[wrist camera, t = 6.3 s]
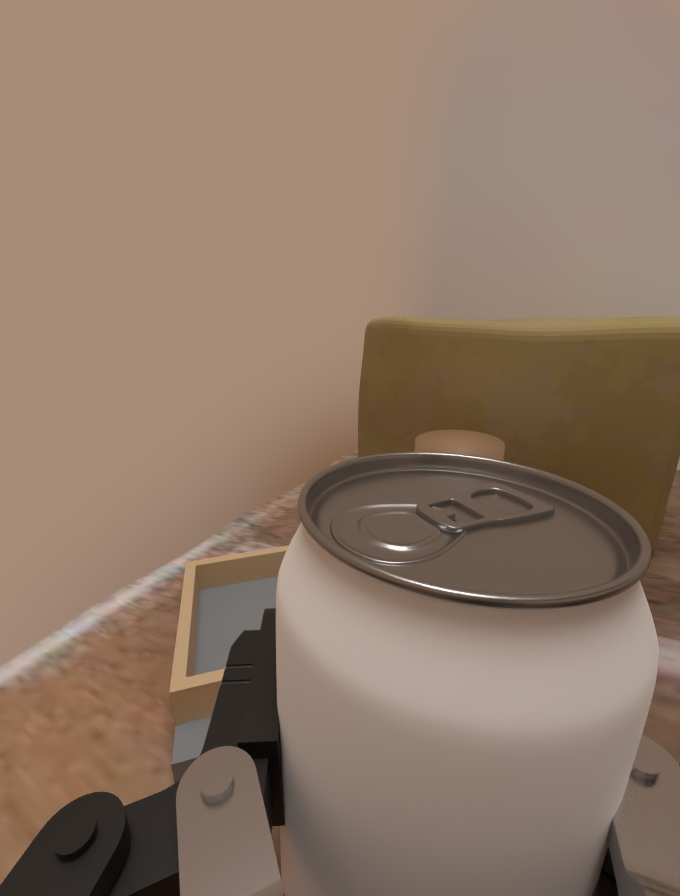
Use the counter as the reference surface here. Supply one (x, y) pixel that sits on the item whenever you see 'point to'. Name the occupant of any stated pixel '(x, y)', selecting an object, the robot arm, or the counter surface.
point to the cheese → (536, 397)
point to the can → (457, 678)
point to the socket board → (246, 611)
